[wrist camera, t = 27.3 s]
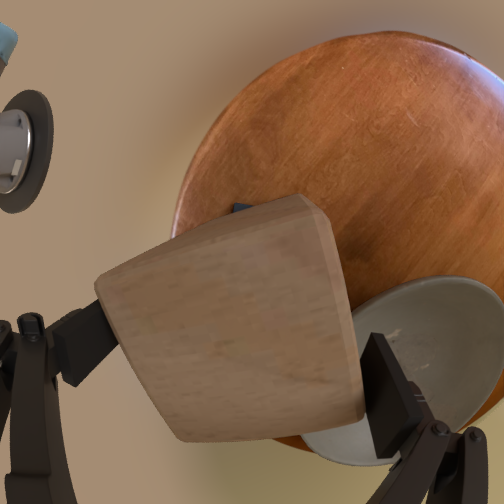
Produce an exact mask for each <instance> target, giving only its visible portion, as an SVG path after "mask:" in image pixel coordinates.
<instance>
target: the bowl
mask: <svg viewBox="0 0 504 504" xmlns="http://www.w3.org/2000/svg"><path fill="white" fill-rule="evenodd" d="M351 315H352V320H353V325H354V331H355V337H356V342H357V348H358V354H359V360H360V358H361V355H362V353H363V351H364V348H365V346H366V343H367V341H368V339H369V336H370V334H371V332H375V333H382V334H384V336H385V338H386V340H387V342H388V344H389V346H390V347H391V349H392V351H393V353H394V355H395V357H396V359H397V361H398V363H399V365H400V366H401V368H402V370H403V372H404V374H405V376H406V378H407V380H408V381H413V382H414V383H415V384H416V385H417V386H418V387H419V388H420V390H421V392H422V394H423V396H424V398H425V400H426V402H427V404H428V406H429V408H430V410H431V412H432V414H433V416H434V418H435V420H440V421H443V422H444V423H446V424H447V425H448V426H449V428H450V430H451V432H453V433H455V432H456V431H458V430H459V429H460V428H461V427H462V426H464V425H465V424H466V423H467V422H468V421H469V420H470V419H471V418H472V417H473V416H474V415H475V414H476V412H477V411H478V410H479V409H480V408H481V406H482V405H483V404H484V403H485V401H486V400H487V399H488V397H489V396H490V394H491V393H492V391H493V389H494V387H495V386H496V384H497V382H498V380H499V378H500V375H501V373H502V370H503V368H504V305H503V303H502V301H501V300H500V298H499V297H498V295H497V294H496V293H495V292H494V291H493V290H492V289H490V288H489V287H487V286H486V285H484V284H483V283H481V282H479V281H477V280H474V279H471V278H468V277H464V276H456V275H436V276H428V277H423V278H419V279H415V280H411V281H408V282H405V283H403V284H400V285H397V286H395V287H393V288H390V289H388V290H386V291H384V292H382V293H380V294H378V295H376V296H374V297H373V298H371V299H369V300H368V301H366V302H364V303H363V304H362V305H360V306H359V307H357V308H356V309H355V310H354V311H352V312H351ZM300 435H301V437H302V439H303V440H304V441H305V443H306V444H307V445H308V447H309V448H310V449H312V450H313V451H314V452H315V453H317V454H318V455H319V456H321V457H323V458H325V459H327V460H330V461H332V462H336V463H340V464H344V465H351V466H381V465H387V464H394V463H396V461H397V460H398V459H399V458H400V457H401V455H400V452H399V451H398V452H397V453H396V454H395V455H394V456H393V458H388V459H377V457H376V453H375V448H374V444H373V440H372V435H371V431H370V427H369V423H368V419H367V415H366V412H365V415H364V418H363V420H361V421H359V422H357V423H354V424H350V425H345V426H341V427H337V428H332V429H328V430H323V431H317V432H312V433H306V434H300Z"/></svg>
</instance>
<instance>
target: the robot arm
mask: <svg viewBox="0 0 504 504" xmlns="http://www.w3.org/2000/svg"><path fill="white" fill-rule="evenodd" d="M17 41H18V35H17V34H16V32H15V31H14V30H12V29H11V28H9V27H8V26H6V25H4V24H3V23H1V22H0V76H1V74H2V72H3V70H4V68H5V66H7V64H8V60H9V58H10V55H11V54H12V52H13V50H14V48H15V46H16V44H17ZM34 139H35V134H34V125H33V121H32V118H31V116H30V114H29V113H28V112H27V111H25V110H19V109H13V110H9V111H5V112H2V113H0V193H11V192H14V191H16V190H17V189H18V188H19V187H20V186H21V185H22V183H23V182H24V180H25V178H26V176H27V174H28V171H29V168H30V165H31V161H32V157H33V151H34ZM17 324H18V328H19V332H20V334H19V333H16V332H12V328H11V324H10V323H9V322H8V321H5V320H0V441H1V437H2V434H3V430H4V427H5V423H6V420H7V417H8V414H9V411H10V408H11V413H10V458H11V472H10V473H9V474H6V475H5V491H6V499H7V504H77V501H76V497H75V493H74V490H73V486H72V482H71V478H70V473H69V469H68V464H67V459H66V454H65V448H64V442H63V435H62V428H61V419H60V410H59V397H58V381H57V377H56V375H57V374H58V373H59V372H61V374H62V378H63V381H65V382H66V383H68V384H70V385H72V386H73V387H77V386H78V385H79V384H80V383H81V382H82V381H83V380H84V379H85V378H86V377H87V376H88V374H89V373H90V372H91V371H92V370H93V369H94V368H95V367H96V366H97V365H98V364H99V363H100V362H101V361H102V360H103V359H104V358H105V357H106V356H107V355H108V354H109V353H110V352H111V351H112V350H113V349H114V348H115V347H116V346H117V345H118V344H119V342H118V340H117V338H116V336H115V334H114V332H113V330H112V328H111V326H110V324H109V322H108V320H107V317H106V315H105V313H104V311H103V309H102V306H101V304H100V302H99V299H97V300H96V301H94V302H93V303H91V304H90V305H89V306H87V307H86V308H84V309H76V310H74V311H71V312H69V313H68V314H66V315H65V317H64V316H63V317H62V318H61V319H60V320H58V321H56V322H55V323H53V324H52V325H50V326H49V327H47V328H46V329H45V327H44V322H43V317H42V316H41V315H40V314H38V313H33V312H30V313H25V314H22V315H21V316H19V317H18V319H17ZM359 361H360V367H361V374H362V382H363V389H364V397H365V406H366V415H367V419H368V423H369V427H370V431H371V435H372V440H373V444H374V448H375V453H376V457H377V459H388V458H393V456H394V455H395V454H396V453H397V452H398V451H399V452H400V455H401V457H400V458H399V459H398V460H397V461H396V463H395V464H394V465H393V466H392V467H391V468H390V469H389V471H390V472H389V474H388V475H387V477H386V478H385V479H384V481H383V482H382V483H381V485H380V486H379V488H378V489H377V490H376V492H375V493H374V494H373V496H372V497H371V498H370V499H369V500H368V502H367V503H366V504H421V502H422V501H423V499H424V497H425V495H426V493H427V491H428V489H429V491H428V496H427V500H426V504H487V503H488V454H487V440H486V436H485V434H484V432H483V431H482V430H481V429H479V428H477V427H473V426H471V427H468V428H467V429H466V430H465V431H464V433H463V434H459V433H453V432H451V430H450V428H449V426H448V425H447V424H446V423H444V422H443V421H440V420H435V418H434V416H433V414H432V412H431V410H430V408H429V406H428V404H427V402H426V400H425V398H424V396H423V394H422V392H421V390H420V388H419V387H418V386H417V385H416V384H415V383H414V382H413V381H408V380H407V378H406V376H405V374H404V372H403V370H402V368H401V366H400V365H399V363H398V361H397V359H396V357H395V355H394V353H393V351H392V349H391V347H390V346H389V344H388V342H387V340H386V338H385V336H384V334H382V333H375V332H371V334H370V336H369V339H368V341H367V343H366V346H365V348H364V351H363V353H362V355H361V358H360V360H359Z"/></svg>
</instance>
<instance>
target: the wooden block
mask: <svg viewBox="0 0 504 504" xmlns="http://www.w3.org/2000/svg"><path fill="white" fill-rule="evenodd" d="M94 288H95V292H96V295H97V297H98V299H99V302H100V304H101V306H102V309H103V311H104V313H105V315H106V317H107V320H108V322H109V324H110V326H111V328H112V330H113V332H114V334H115V336H116V338H117V340H118V342H119V344H120V346H121V348H122V350H123V352H124V354H125V356H126V358H127V359H128V361H129V363H130V365H131V367H132V369H133V370H134V372H135V374H136V376H137V378H138V379H139V381H140V383H141V384H142V386H143V388H144V389H145V391H146V393H147V394H148V396H149V397H150V399H151V401H152V402H153V404H154V405H155V407H156V408H157V410H158V411H159V413H160V415H161V416H162V417H163V419H164V420H165V422H166V423H167V425H168V426H169V428H170V429H171V430H172V432H173V433H174V435H175V436H176V437H177V438H178V439H179V440H181V441H183V442H234V441H235V442H236V441H251V440H261V439H271V438H280V437H287V436H294V435H300V434H306V433H312V432H317V431H323V430H328V429H332V428H337V427H341V426H345V425H350V424H354V423H357V422H359V421H361V420H363V418H364V415H365V412H366V406H365V397H364V389H363V382H362V374H361V367H360V361H359V354H358V348H357V342H356V337H355V331H354V325H353V320H352V315H351V310H350V305H349V300H348V295H347V290H346V286H345V281H344V277H343V272H342V268H341V264H340V259H339V255H338V251H337V247H336V243H335V239H334V235H333V231H332V228H331V224H330V220H329V219H328V217H327V216H326V215H325V213H324V212H323V211H322V210H321V209H320V208H319V207H317V206H316V205H315V204H314V203H312V202H311V201H310V200H309V199H307V198H306V197H305V196H303V195H302V194H298V193H297V194H294V195H290V196H287V197H284V198H280V199H277V200H273V201H270V202H267V203H264V204H260V205H257V206H254V207H251V208H247V209H244V210H241V211H238V212H235V213H232V214H228V215H225V216H222V217H219V218H216V219H213V220H211V221H209V222H207V223H204V224H202V225H200V226H198V227H196V228H194V229H192V230H190V231H187V232H185V233H183V234H181V235H179V236H177V237H175V238H173V239H171V240H169V241H167V242H165V243H162V244H160V245H159V246H156V247H155V248H152V249H150V250H148V251H146V252H144V253H142V254H140V255H138V256H136V257H134V258H132V259H130V260H128V261H127V262H124V263H122V264H121V265H119V266H117V267H115V268H113V269H111V270H109V271H107V272H105V273H103V274H101V275H100V276H99V277H98V278H97V280H96V281H95V282H94Z"/></svg>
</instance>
